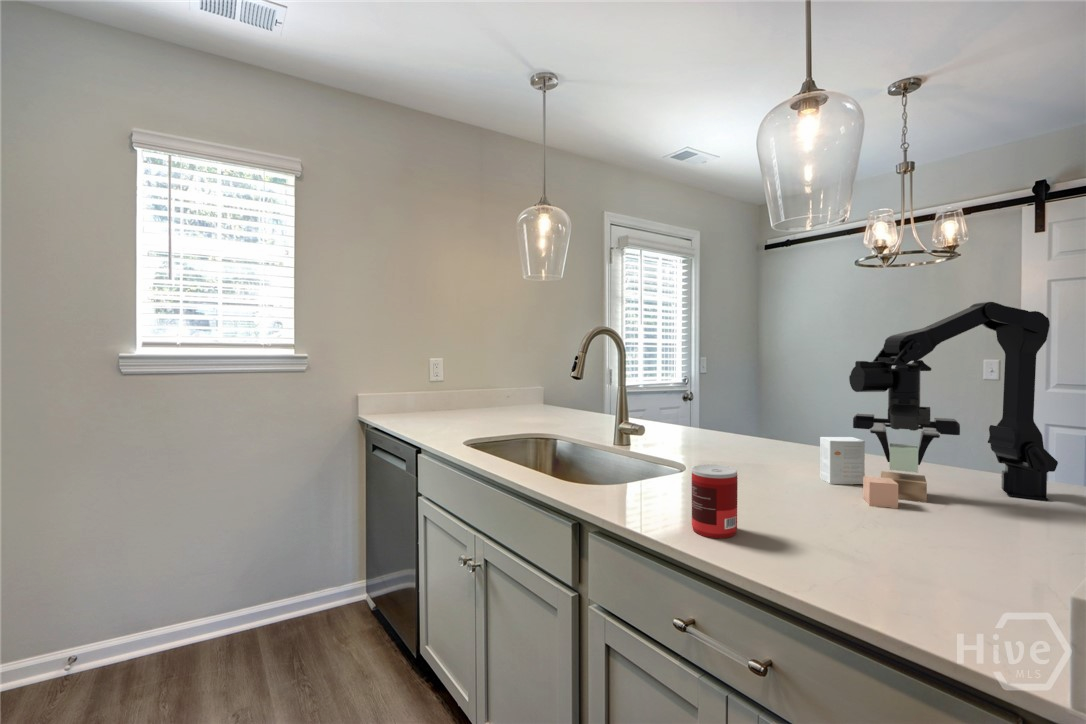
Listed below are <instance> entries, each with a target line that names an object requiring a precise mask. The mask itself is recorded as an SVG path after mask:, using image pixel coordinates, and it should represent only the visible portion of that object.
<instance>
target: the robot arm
mask: <svg viewBox="0 0 1086 724" xmlns="http://www.w3.org/2000/svg"><path fill="white" fill-rule="evenodd" d="M981 325H982V326H983V327H985V328H986V329H989V330H991V331H994V332H996V340H997V343H998V344H999V345H1000V347H1001V348H1002V350H1003V352H1004V371H1003V372H1004V373H1003V374H1004V375H1003V377H1004V378H1003V399H1002V401H1003V402H1002V417H1001V419H1000V421H999V422H998V423H997V424H996V425H992V424H990V425H989V426H988V432H989V433H988V434H989V438H988V440H987V443H988V444H990V449H991V451H992V452H993V453H994V455H995V457H996V459H997V462H998V463H999V464H1004V465H1005V466H1004V470H1001V487H1000V488H1001V490H1003V492H1004V493H1005V494H1006V495H1007V496H1008V497H1015V498H1024V499H1032V500H1041V501H1050V497H1049V496H1047V495H1048V492H1047V490H1048V489H1047V488H1048V473H1050V472H1055V471H1057V470H1056V469H1057V467H1058V465H1059V462H1058V460H1056V458H1055V457H1053V456H1052V454H1051V453H1049V452H1048V451H1047V450H1046V449H1045V447H1044V446H1045V445H1044V439H1043V433H1042V432H1041V430H1040V429H1039V427H1038V426H1037V424H1036V422H1035V420H1034V416H1035V414H1034V412H1035V395H1036V389H1035V388H1036V374H1037V373H1036V369H1037V368H1036V366H1037V355H1038V352H1039V351H1040V350H1041V348H1042V347H1043V346H1044V344H1045V343H1046V342H1047V339H1048V336H1049V330H1050V328H1051V327H1050V326H1051V325H1050V319H1049V317H1048V316H1046V315H1045V314H1044V313H1043V312H1041V311H1037V310H1033V311H1032V310H1031V311H1029V310H1026V309H1022V308H1018V307H1017V308H1016V307H1013V306H1007V305H1004V304H1001V303H998V302H994V301H987V302H986V301H985V302H977V303H974V304H972V305H970V306H969V307H967V308H965V309H963V310H960V311H958V312H956V313H954V314H951V315H950V316H947V317H944V318H942V319H940V320H938V321H936V322H933V323H931V324H930V325H927V326H925V327H921V328H919V329H914V330H908V331H903V332H901V333H896V334H892V335H890V336H888V337H887V338H886V339H885V340H884V343H883V348H881V350H880V351H879V352H878V354H876V357H875V358H874V359H873V360H872V361H868V360H867V361H866V360H856V361H855V362H854V363H855V366H854V367H853V368H852V370H851V372H850V374H849V377H848V380H849V381H848V382H849V384H850V387H851V390H852V391H853V392H855V393H885V392H886V391H888V393H887V394H888V396H887V397H888V398H887V399H888V400H887V401H888V403H887V418H880V417H875V414H873V413H872V414H871V413H870V414H868V413H856V414H855V415H854V416H853V417H852V419H853V420H852V428H853V429H858V430H859V429H861V430H870V431H869V432H870V434H875V435H876V437H877V439H878V441H879V442H880V445H881V447H882V450H883V452H884V455H885V458H886V461H887V463H890V444H889V438H888V433H887V428H891V429H893V430H899V431H900V430H909V431H914V432H916V431H918V430H921V433H920V438H919V444H918V466H920V465H921V463H922V461H923V458H924V456H925V454H926V451H927V449H928V448H929V445H930V444H931V443H932V441H933V440H934V439H940V437H941V436H940V435H949V436H960V435H961V424H960V422H958V420H956V419H955V418H945V417H944V418H942V417H934V418H933V419H934V420H931V407H930V406H921V372H930V371H932V367H931V366H929V365H928V364H926V363H925V362H924V361H923V360H922V358H924V357H926V356H928V355H929V354H931V352H933V351H934V350H935V348H936V347H937V346H938V345H940V344H941V343H943V342H945V341H948V340H950V339H952V338H954V337H956V336H958V335H961V334H963V333H966V332H968V331H970V330H972V329H974V328H976V327H978V326H981ZM910 362H911V363H910ZM892 366H893V368H892Z"/></svg>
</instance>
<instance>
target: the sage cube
mask: <svg viewBox="0 0 1086 724" xmlns="http://www.w3.org/2000/svg"><path fill="white" fill-rule="evenodd" d="M918 450H919V445H916V444H914V445H913V444H904V443H903V444H902V443H889V452H890V462H889V471H897V472H906V473H916V474H918V473H919V465H918Z"/></svg>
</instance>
